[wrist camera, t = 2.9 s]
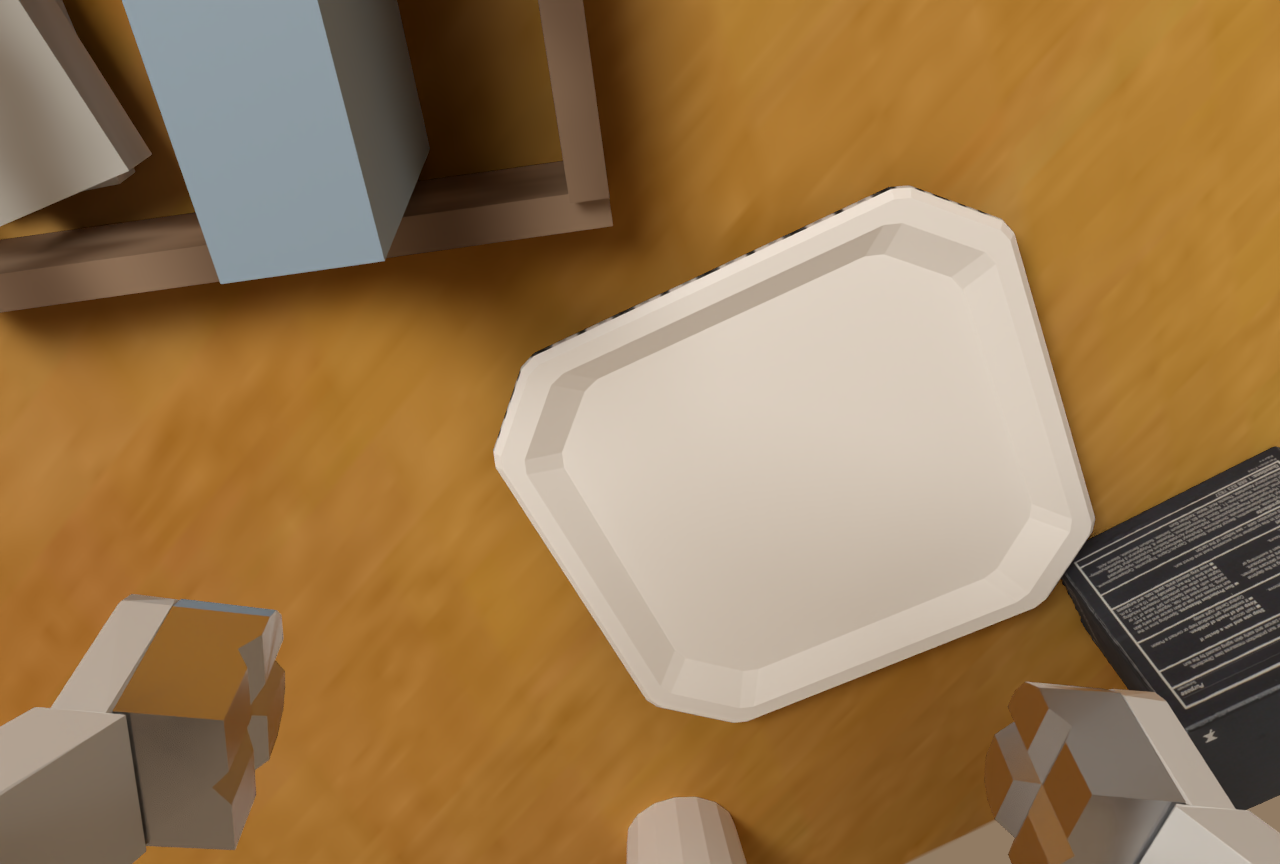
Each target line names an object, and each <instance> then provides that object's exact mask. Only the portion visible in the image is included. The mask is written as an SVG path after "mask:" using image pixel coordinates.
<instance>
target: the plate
mask: <svg viewBox="0 0 1280 864" xmlns="http://www.w3.org/2000/svg"><path fill="white" fill-rule="evenodd" d="M493 451H494V459H495V466H496V469H497V470H498V472H499V473H500V475H501V476H502V478H503V479H504V481H505V483H506V484H507V486H508V487H509V489H510V490H511V492H512V493H513V495H514V496H515V498H516V499H517V501H518V503H519V504H520V506H521V507H522V509H523V510H524V512H525V513H526V515H527V516H528V518H529V520H530V521H531V523H532V524H533V526H534V527H535V529H536V530H537V532H538V533H539V535H540V536H541V538H542V540H543V541H544V543H545V544H546V546H547V547H548V549H549V550H550V552H551V553H552V555H553V557H554V558H555V560H556V561H557V563H558V564H559V566H560V567H561V569H562V570H563V572H564V574H565V575H566V577H567V578H568V580H569V581H570V583H571V584H572V586H573V587H574V589H575V590H576V592H577V594H578V595H579V597H580V598H581V600H582V601H583V603H584V604H585V606H586V607H587V609H588V611H589V612H590V614H591V615H592V617H593V618H594V620H595V621H596V623H597V624H598V626H599V627H600V629H601V631H602V632H603V634H604V635H605V637H606V638H607V640H608V641H609V643H610V644H611V646H612V648H613V649H614V651H615V652H616V654H617V655H618V657H619V658H620V660H621V661H622V663H623V664H624V666H625V668H626V669H627V671H628V672H629V674H630V675H631V677H632V678H633V680H634V681H635V683H636V685H637V686H638V688H639V689H640V691H641V692H642V694H643V695H644V697H645V698H646V700H647V701H649V702H651V703H652V704H654V705H655V706H657V707H661V708H665V709H670V710H675V711H680V712H684V713H689V714H694V715H699V716H703V717H708V718H713V719H717V720H722V721H727V722H732V723H736V722H746V721H749V720H752V719H754V718H757V717H760V716H762V715H765V714H767V713H770V712H772V711H775V710H777V709H780V708H782V707H785V706H787V705H790V704H792V703H795V702H798V701H800V700H803V699H805V698H808V697H810V696H813V695H815V694H818V693H820V692H823V691H825V690H828V689H830V688H833V687H836V686H838V685H841V684H843V683H846V682H848V681H851V680H853V679H856V678H858V677H861V676H863V675H866V674H869V673H871V672H874V671H876V670H879V669H881V668H884V667H886V666H889V665H891V664H894V663H896V662H899V661H901V660H904V659H906V658H909V657H912V656H914V655H917V654H919V653H922V652H924V651H927V650H929V649H932V648H934V647H937V646H939V645H942V644H944V643H947V642H950V641H952V640H955V639H957V638H960V637H962V636H965V635H967V634H970V633H972V632H975V631H977V630H980V629H982V628H985V627H988V626H990V625H993V624H995V623H998V622H1000V621H1003V620H1005V619H1008V618H1010V617H1013V616H1015V615H1018V614H1020V613H1023V612H1025V611H1028V610H1031V609H1033V608H1035V607H1036V606H1038V605H1039V604H1040V603H1042V602H1043V601H1044V600H1046V599H1047V598H1048V596H1049V595H1050V593H1051V592H1052V590H1053V589H1054V587H1055V586H1056V584H1057V583H1058V582H1059V580H1060V579H1061V577H1062V576H1063V574H1064V573H1065V571H1066V570H1067V568H1068V567H1069V565H1070V564H1071V562H1072V561H1073V560H1074V558H1075V557H1076V555H1077V554H1078V552H1079V551H1080V549H1081V548H1082V546H1083V545H1084V543H1085V542H1086V540H1087V539H1088V537H1089V536H1090V535H1091V533H1092V532H1093V527H1094V522H1095V516H1094V512H1093V509H1092V505H1091V502H1090V498H1089V495H1088V491H1087V487H1086V484H1085V480H1084V477H1083V473H1082V470H1081V466H1080V463H1079V459H1078V456H1077V452H1076V449H1075V445H1074V442H1073V438H1072V435H1071V431H1070V428H1069V424H1068V421H1067V417H1066V413H1065V410H1064V406H1063V403H1062V399H1061V396H1060V392H1059V389H1058V385H1057V382H1056V378H1055V375H1054V371H1053V368H1052V364H1051V361H1050V357H1049V354H1048V350H1047V347H1046V343H1045V339H1044V336H1043V332H1042V329H1041V325H1040V322H1039V318H1038V315H1037V311H1036V308H1035V304H1034V301H1033V297H1032V294H1031V290H1030V287H1029V283H1028V280H1027V276H1026V273H1025V269H1024V265H1023V262H1022V258H1021V255H1020V251H1019V248H1018V244H1017V241H1016V237H1015V234H1014V232H1013V231H1012V230H1011V229H1010V227H1009V226H1008V225H1007V224H1006V223H1005V222H1004V221H1003V220H1002V219H1001V218H998V217H995V216H992V215H990V214H987V213H984V212H981V211H979V210H976V209H973V208H970V207H967V206H965V205H962V204H959V203H956V202H954V201H951V200H948V199H945V198H943V197H940V196H937V195H934V194H932V193H929V192H926V191H923V190H921V189H918V188H915V187H912V186H897V187H888V188H886V189H884V190H881V191H879V192H877V193H875V194H873V195H871V196H869V197H866V198H864V199H862V200H860V201H858V202H856V203H854V204H852V205H849V206H847V207H845V208H843V209H841V210H839V211H837V212H834V213H832V214H830V215H828V216H826V217H824V218H822V219H820V220H817V221H815V222H813V223H811V224H809V225H807V226H805V227H802V228H800V229H798V230H796V231H794V232H792V233H790V234H788V235H785V236H783V237H781V238H779V239H777V240H775V241H773V242H770V243H768V244H766V245H764V246H762V247H760V248H758V249H756V250H753V251H751V252H749V253H747V254H745V255H743V256H741V257H738V258H736V259H734V260H732V261H730V262H728V263H726V264H724V265H721V266H719V267H717V268H715V269H713V270H711V271H709V272H706V273H704V274H702V275H700V276H698V277H696V278H694V279H691V280H689V281H687V282H685V283H683V284H681V285H679V286H677V287H674V288H672V289H670V290H668V291H666V292H664V293H662V294H659V295H657V296H655V297H653V298H651V299H649V300H647V301H644V302H642V303H640V304H638V305H636V306H634V307H632V308H629V309H627V310H625V311H623V312H621V313H619V314H617V315H614V316H612V317H610V318H608V319H606V320H604V321H602V322H599V323H597V324H595V325H593V326H591V327H589V328H587V329H584V330H582V331H580V332H578V333H576V334H574V335H572V336H569V337H567V338H565V339H563V340H561V341H559V342H557V343H554V344H552V345H550V346H548V347H546V348H544V349H542V350H540V351H537V352H535V353H534V354H533V355H532V356H531V357H530V358H529V359H528V360H527V361H526V362H525V363H524V365H523V366H522V367H521V369H520V372H519V375H518V378H517V381H516V384H515V387H514V390H513V393H512V396H511V399H510V402H509V405H508V408H507V411H506V414H505V417H504V420H503V423H502V426H501V429H500V432H499V435H498V438H497V441H496V444H495V447H494V450H493Z"/></svg>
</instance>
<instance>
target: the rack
mask: <svg viewBox="0 0 1280 864" xmlns="http://www.w3.org/2000/svg"><path fill="white" fill-rule="evenodd" d="M538 3H539V9H540V16H541V22H542V28H543V35H544V41H545V47H546V54H547V60H548V67H549V73H550V79H551V86H552V92H553V99H554V105H555V111H556V118H557V124H558V130H559V137H560V143H561V150H562V156H563V161H559V162H552V163H545V164H538V165H531V166H524V167H517V168H509V169H502V170H495V171H488V172H481V173H474V174H467V175H459V176H452V177H445V178H438V179H431V180H424V181H417V183H416V185H415V188H414V190H413V192H412V195H411V197H410V200H409V202H408V205H407V207H406V210H405V212H404V215H403V217H402V220H401V222H400V225H399V227H398V229H397V232H396V234H395V237H394V239H393V242H392V244H391V247H390V249H389V252H388V254H387V257H386V258H390V257H397V256H404V255H412V254H419V253H426V252H433V251H440V250H447V249H454V248H461V247H468V246H475V245H482V244H490V243H497V242H504V241H511V240H518V239H525V238H532V237H539V236H546V235H553V234H560V233H568V232H575V231H582V230H589V229H596V228H603V227H610V226H613V222H612V214H611V207H610V200H609V198H610V196H609V189H608V182H607V174H606V167H605V160H604V152H603V145H602V137H601V130H600V123H599V115H598V108H597V101H596V93H595V86H594V79H593V71H592V64H591V57H590V49H589V42H588V35H587V27H586V20H585V13H584V5H583V0H538ZM213 282H220V281H219V278H218V275H217V272H216V270H215V267H214V264H213V261H212V258H211V255H210V252H209V249H208V247H207V244H206V241H205V238H204V235H203V232H202V229H201V226H200V223H199V221H198V218H197V215H196V213H188V214H181V215H174V216H167V217H160V218H153V219H146V220H139V221H131V222H124V223H117V224H110V225H103V226H96V227H89V228H81V229H74V230H67V231H60V232H53V233H46V234H39V235H32V236H24V237H17V238H10V239H3V240H0V312H7V311H14V310H21V309H28V308H36V307H43V306H50V305H57V304H64V303H71V302H78V301H85V300H92V299H99V298H107V297H114V296H121V295H128V294H135V293H142V292H149V291H156V290H163V289H170V288H177V287H185V286H192V285H199V284H206V283H213Z"/></svg>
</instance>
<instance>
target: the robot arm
mask: <svg viewBox="0 0 1280 864" xmlns="http://www.w3.org/2000/svg"><path fill="white" fill-rule="evenodd" d="M282 641H283V629H282V617H281V614H280V613H279V612H278V611H277V610H270V609H262V608H253V607H245V606H237V605H228V604H220V603H211V602H203V601H195V600H186V599H181V600H176V599H169V598H161V597H152V596H144V595H136V594H131V595H129V596H128V597H127V598H125V599H124V600H122V601H121V602H120V603H119V604H118V605H117V607H116V608H115V610H114V611H113V613H112V614H111V616H110V617H109V619H108V620H107V622H106V624H105V625H104V627H103V628H102V630H101V631H100V633H99V634H98V636H97V637H96V639H95V640H94V642H93V644H92V645H91V647H90V648H89V650H88V651H87V653H86V654H85V656H84V657H83V659H82V660H81V662H80V664H79V665H78V667H77V668H76V670H75V671H74V673H73V674H72V676H71V677H70V679H69V680H68V682H67V684H66V685H65V687H64V688H63V690H62V691H61V693H60V694H59V696H58V697H57V699H56V700H55V702H54V703H53V705H52V707H51V708H41V707H34V708H32V709H31V710H29V711H27V712H25V713H24V714H22V715H20V716H18V717H17V718H15V719H13V720H11V721H9V722H8V723H6V724H4V725H2V726H1V727H0V864H132V863H133V862H134V861H136V860H137V859H138V858H139V857H140V856H141V855H142V854H144V853H145V852H146V846H161V847H183V848H204V849H226V850H235V849H236V846H237V844H238V841H239V838H240V836H241V833H242V830H243V828H244V825H245V823H246V820H247V817H248V815H249V812H250V809H251V807H252V804H253V802H254V799H255V796H256V785H255V770H256V769H257V768H258V767H260V766H261V765H262V764H264V763H265V762H267V761H268V760H269V759H270V756H271V753H272V750H273V747H274V745H275V742H276V739H277V736H278V731H279V727H280V722H281V718H282V713H283V707H284V695H285V670H284V669H283V668H282V667H281V666H280V665H279V664H278V663H277V662H276V661H275V658H276V656H277V653H278V651H279V648H280V646H281V643H282ZM1008 709H1009V711H1010V713H1011V716H1012V718H1013V720H1014V722H1013V723H1011V724H1010V725H1008V726H1007V727H1005V728H1004V729H1002V730H1001V731H999V732H998V733H997V734H995V735H994V737H993V740H992V742H991V745H990V747H989V750H988V752H987V755H986V763H985V777H984V782H985V788H986V794H987V800H988V802H989V805H990V808H991V811H992V813H993V816H994V819H995V820H996V821H997V822H998V823H1000V825H1001V826H1003V827H1004V828H1005V829H1006V830H1007V831H1008V832H1009V833H1010V834H1011V835H1013V837H1014V838H1015V839H1014V841H1013V844H1012V846H1011V849H1010V851H1009V854H1008V855H1009V858H1010V860H1011V863H1012V864H1280V833H1279V832H1278V831H1276V830H1275V829H1274V828H1272V827H1271V826H1269V825H1268V824H1267V823H1265V822H1264V821H1262V820H1261V819H1260V818H1258V817H1257V816H1256V815H1255V814H1253V813H1252V812H1250V811H1247V810H1237V809H1235V807H1234V806H1233V804H1232V803H1231V801H1230V799H1229V798H1228V796H1227V795H1226V793H1225V792H1224V790H1223V789H1222V787H1221V785H1220V784H1219V782H1218V781H1217V779H1216V778H1215V776H1214V775H1213V773H1212V771H1211V770H1210V768H1209V767H1208V765H1207V764H1206V762H1205V761H1204V759H1203V757H1202V756H1201V754H1200V753H1199V751H1198V750H1197V748H1196V746H1195V745H1194V743H1193V742H1192V740H1191V739H1190V737H1189V736H1188V734H1187V732H1186V731H1185V729H1184V728H1183V726H1182V725H1181V723H1180V722H1179V720H1178V718H1177V717H1176V715H1175V714H1174V712H1173V711H1172V709H1171V708H1170V706H1169V704H1168V703H1167V701H1166V700H1164V699H1163V698H1162V697H1161V696H1159V695H1158V694H1156V693H1155V692H1146V691H1134V690H1121V689H1110V690H1107V689H1102V688H1091V687H1079V686H1068V685H1056V684H1045V683H1033V682H1024V683H1023V684H1022V685H1021V686H1020V687H1018V688H1017V689H1016V690H1015V692H1014V694H1013V696H1012V698H1011V700H1010V702H1009V705H1008Z"/></svg>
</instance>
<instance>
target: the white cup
mask: <svg viewBox="0 0 1280 864" xmlns="http://www.w3.org/2000/svg"><path fill="white" fill-rule="evenodd" d="M627 864H747V863H746V859H745V856H744V853H743V850H742V846H741V843H740V840H739V836H738V833H737V830H736V827H735V824H734V822H733V820H732V818H731V815H730V813H729V812H728V811H727V810H725V809H724V808H723V807H721V806H720V805H719V804H717V803H716V802H713V801H709V800H706V799H702V798H698V797H675V798H671V799H668V800H665V801H661V802H658V803H655V804H653V805H651V806H650V807H648V808H647V809H645V810H644V811H642V812H641V813H639V814H638V815H637V816H636V818H635V819H634V821H633V822H632V824H631V825H630V827H629V828H628V839H627Z"/></svg>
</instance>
